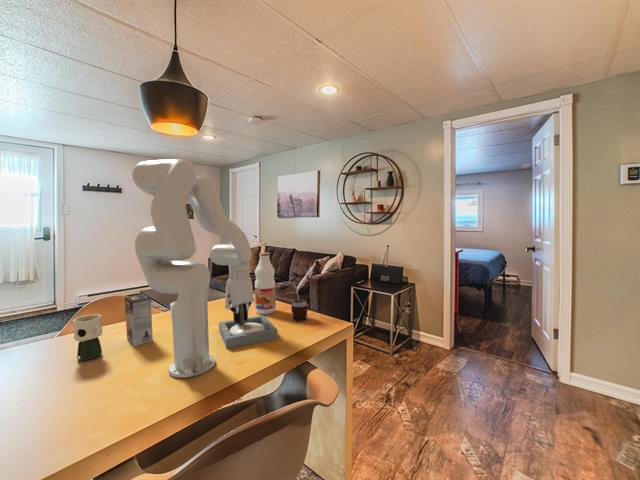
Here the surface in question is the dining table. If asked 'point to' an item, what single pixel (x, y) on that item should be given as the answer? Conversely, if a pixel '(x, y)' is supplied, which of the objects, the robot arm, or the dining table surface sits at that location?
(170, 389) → the dining table surface
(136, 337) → the coffee box
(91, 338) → the character mug
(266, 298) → the fruit juice
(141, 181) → the robot arm
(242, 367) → the dining table surface
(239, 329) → the dial
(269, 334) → the housing
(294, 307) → the mate gourd
